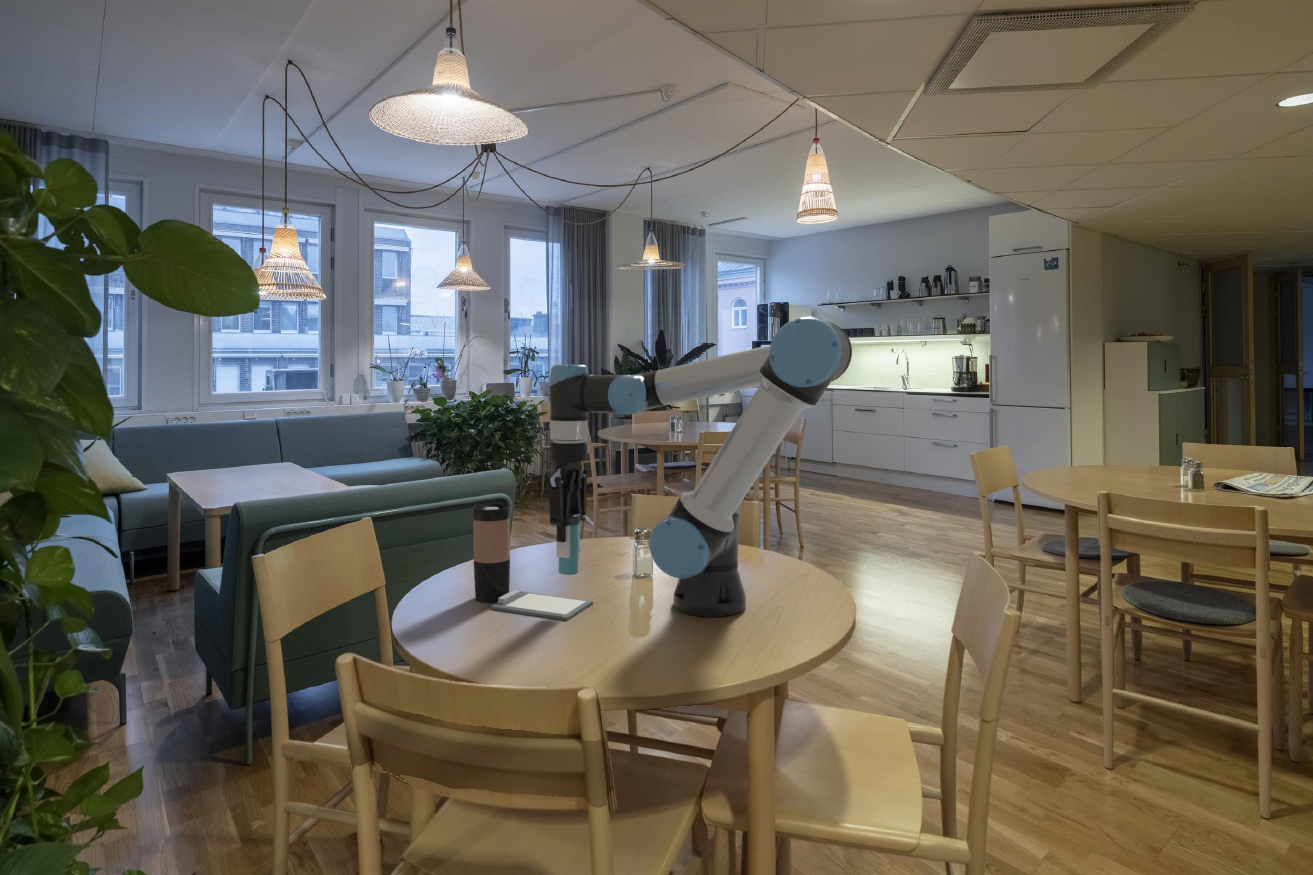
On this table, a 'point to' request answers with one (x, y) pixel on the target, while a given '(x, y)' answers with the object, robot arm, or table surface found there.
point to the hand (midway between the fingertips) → (568, 554)
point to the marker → (571, 547)
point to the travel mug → (491, 552)
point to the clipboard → (541, 605)
